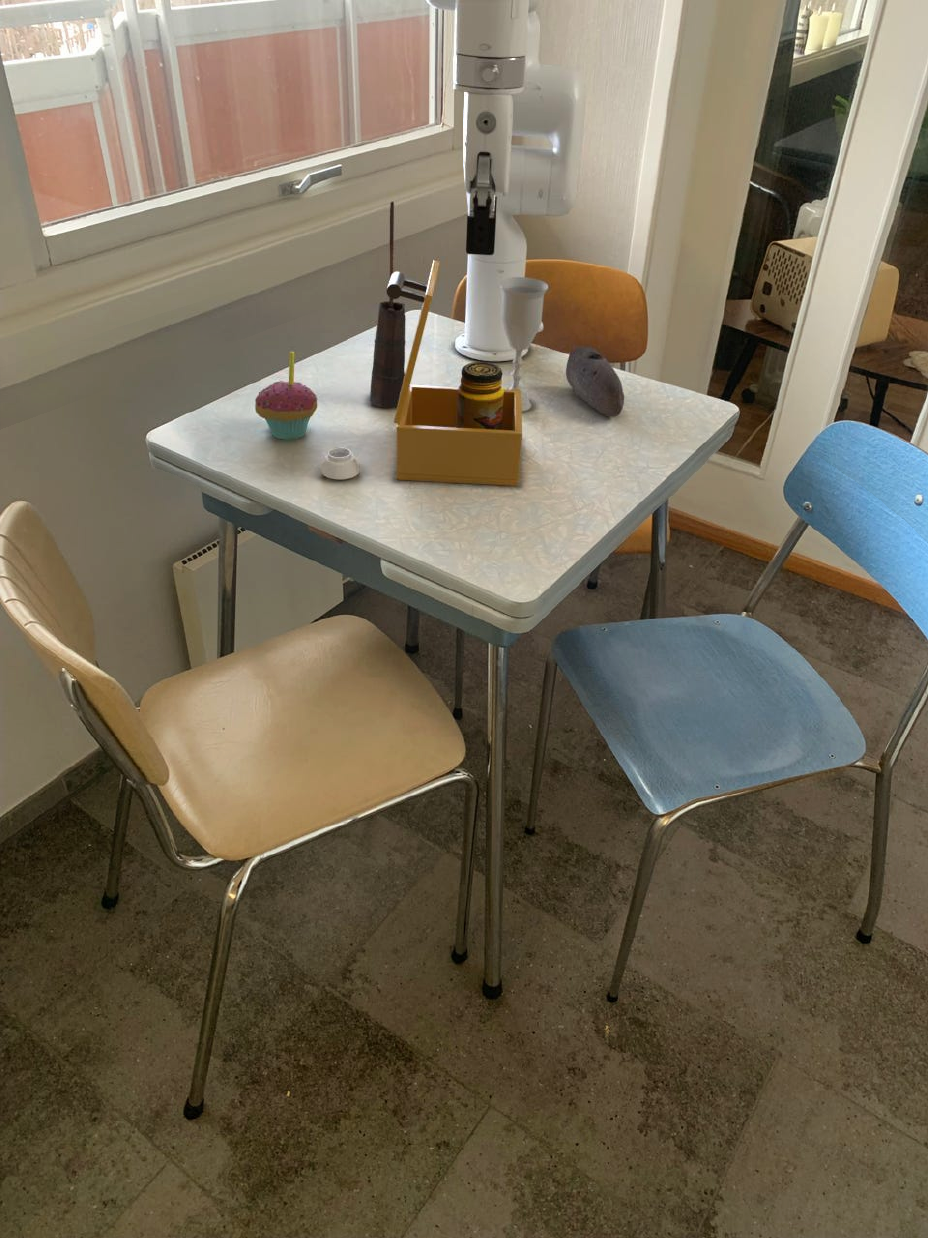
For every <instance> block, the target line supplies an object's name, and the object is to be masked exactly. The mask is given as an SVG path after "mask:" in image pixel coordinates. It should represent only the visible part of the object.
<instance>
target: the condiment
mask: <svg viewBox="0 0 928 1238" xmlns="http://www.w3.org/2000/svg"><path fill="white" fill-rule="evenodd" d="M502 378H503V370H502V368H501V367H500V366H499V365H497V364H494V363H492V362H489V361H473V362H469V363H466V364H465V365H463V366H462V368H461V378H460V385H459V386H458V387H459V388H458V399H457V423H456V428H473V429H492V430H501V427H502V413H503V398H504V391H503V387H502V385H503V379H502Z"/></svg>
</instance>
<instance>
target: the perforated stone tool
mask: <svg viewBox="0 0 928 1238" xmlns="http://www.w3.org/2000/svg"><path fill="white" fill-rule="evenodd" d="M565 376H566V377H565V378H566V380H567V382H568V384H569V386H570V387H571V388H572V391H574V393H575V394H576V395H577V397H579V399H581V400H582V401H583V402H584V403H586V404H587V405H588V406H589V407H591V408H593V409H594V410H595V411H597V412H598V413H600V414H602V415H604V416H607V417H610V418H615V417H618V416H619V415H620V414H621V413H622V412H623V409H624V406H625V393H624V389H623V384H622V381H621V379H620V377H619V375H618V374H617V372H616V371H615V370H614V368H613V366H612V364H610V363H609V361H608V360H607V359H606V358H605V357H604V356H603V355H602V354H601V353H599V352H597V350H595V349H594V348H593V347H589V346H578V347H576V348H574V349H573V350H571V351H570V352H569V354H568V358H567V362H566V367H565Z"/></svg>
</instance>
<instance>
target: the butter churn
mask: <svg viewBox="0 0 928 1238" xmlns="http://www.w3.org/2000/svg"><path fill="white" fill-rule="evenodd" d="M394 220H395V202H394V201H390V204H389V279H390V278H391V275H392V274H393V273H394V247H395V246H394V240H395V236H394V232H395V231H394V229H395V221H394ZM388 298H389V300H387V301H386V300H385V301H381V302H379V304H378V305H379V306H378V314H377V323H376V330H375V339H374V349H373V363H372V370H371V379H370V391H369V392H370V393H369V394H370V395H369V401H370V404H372V405H373V406H375V407H378V408H383V409H390V408H392V407H397V406H398V402H399V398H400V393H401V389H402V385H403V380H404V376H405V372H406V370H405V365H406V364H405V363H406V322H407V321H406V314H405V313H406V307H405V303H404V302H403V303H402V302H398V301H394V299H391V298H390V297H388Z"/></svg>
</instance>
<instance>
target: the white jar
mask: <svg viewBox="0 0 928 1238" xmlns="http://www.w3.org/2000/svg"><path fill="white" fill-rule="evenodd" d="M320 473H321V474H322V475H323V476H324V477H326V478H328V479H333V480H348V479H352V478H354V477H356V476H357V475H358V474H360V464H359V463H358V461H357V459H356V457H355V456H354V454H353V453H352V451H351V450H350V449H349V448H346V447H333V448H331V449H329V450H328V451H327V454H326V456H325V457H324V459H323V461H322V463H321V466H320Z"/></svg>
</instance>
